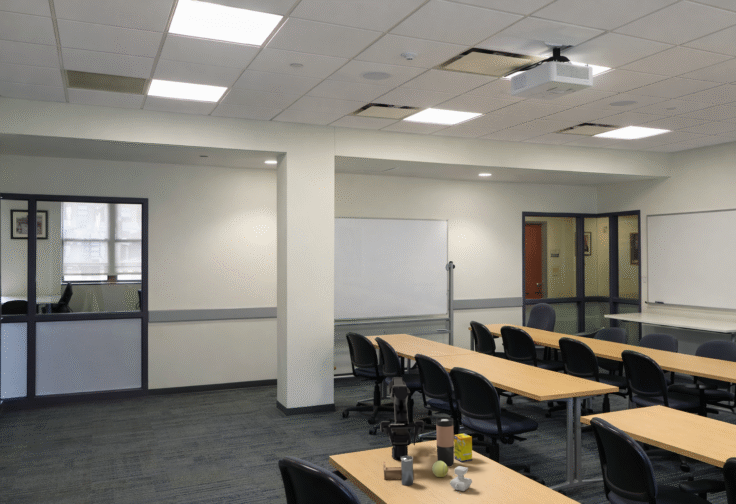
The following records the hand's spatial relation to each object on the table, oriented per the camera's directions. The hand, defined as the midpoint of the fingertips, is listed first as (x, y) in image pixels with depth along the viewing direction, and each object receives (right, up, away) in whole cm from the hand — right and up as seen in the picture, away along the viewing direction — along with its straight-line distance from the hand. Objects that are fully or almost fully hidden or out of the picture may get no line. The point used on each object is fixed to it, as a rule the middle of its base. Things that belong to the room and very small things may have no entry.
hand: (403, 445), depth 251 cm
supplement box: (+28, -13, +19) cm, 36 cm away
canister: (+1, -13, -8) cm, 15 cm away
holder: (-3, -13, +2) cm, 14 cm away
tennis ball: (+15, -13, -1) cm, 20 cm away
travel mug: (+20, -13, +13) cm, 27 cm away
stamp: (+22, -13, -16) cm, 30 cm away
